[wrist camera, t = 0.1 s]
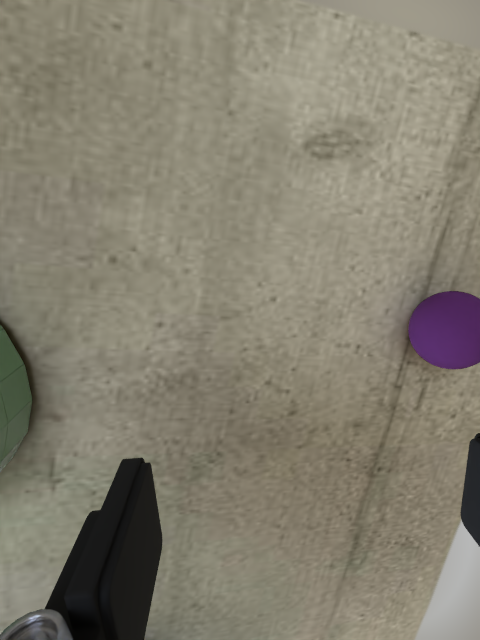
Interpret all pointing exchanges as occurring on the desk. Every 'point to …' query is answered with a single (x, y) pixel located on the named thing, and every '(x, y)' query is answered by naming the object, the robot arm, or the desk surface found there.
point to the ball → (447, 330)
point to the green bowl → (12, 400)
